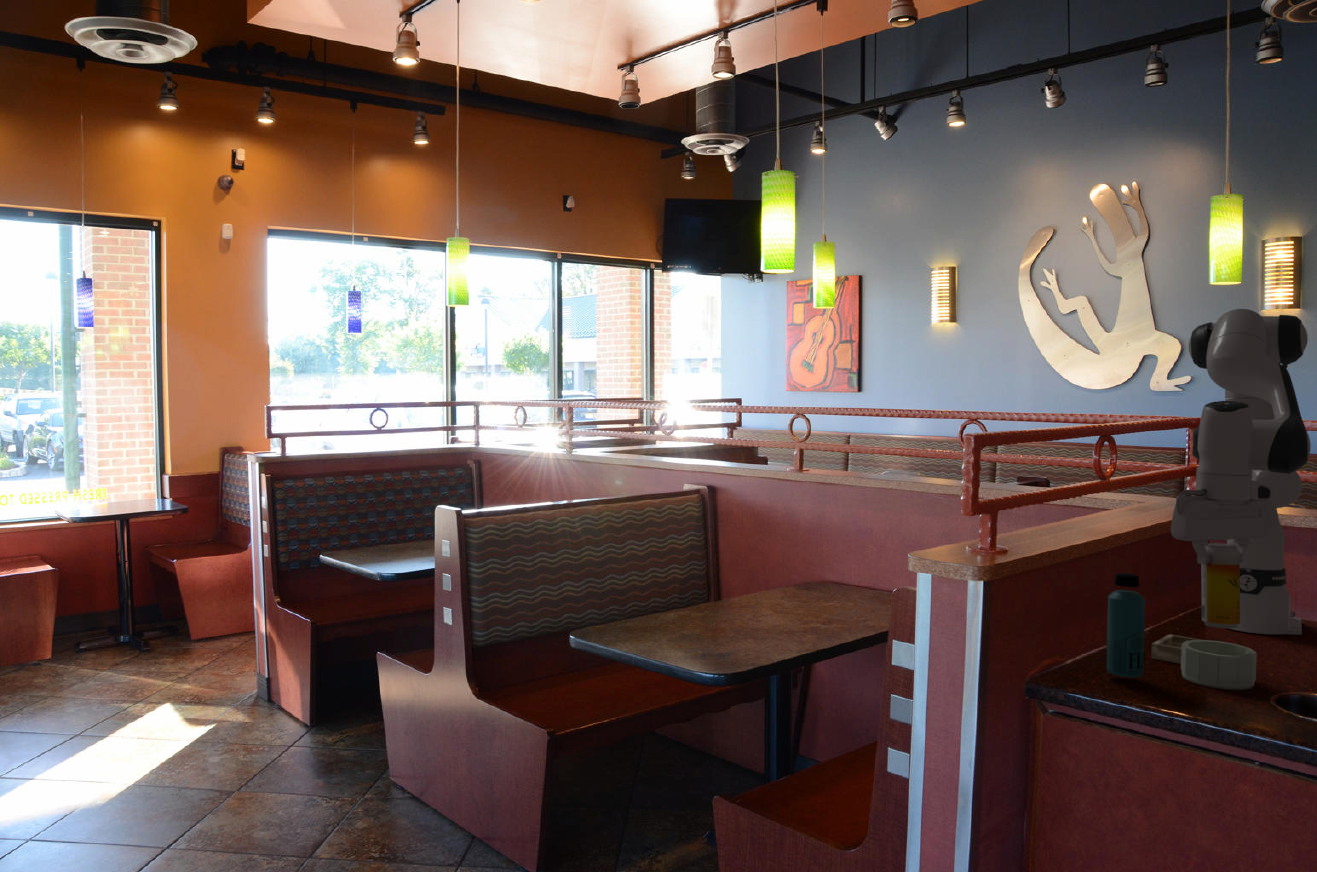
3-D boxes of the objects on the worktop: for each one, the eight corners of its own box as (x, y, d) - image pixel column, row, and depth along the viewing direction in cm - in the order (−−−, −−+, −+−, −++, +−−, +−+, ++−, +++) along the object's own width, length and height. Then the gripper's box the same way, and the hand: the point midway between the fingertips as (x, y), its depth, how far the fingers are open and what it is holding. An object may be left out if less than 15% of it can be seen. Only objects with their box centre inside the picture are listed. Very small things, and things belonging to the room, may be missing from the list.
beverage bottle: (1129, 687, 168) (1132, 578, 167) (1096, 677, 174) (1099, 572, 173) (1152, 682, 171) (1155, 575, 170) (1119, 673, 177) (1122, 569, 176)
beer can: (1246, 629, 169) (1245, 546, 169) (1211, 628, 170) (1210, 546, 170) (1230, 622, 175) (1229, 543, 175) (1196, 622, 176) (1195, 542, 176)
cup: (1192, 667, 181) (1193, 636, 181) (1261, 680, 173) (1262, 648, 173) (1173, 679, 173) (1174, 647, 173) (1244, 694, 165) (1246, 660, 165)
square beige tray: (1169, 648, 195) (1169, 631, 195) (1228, 658, 187) (1229, 641, 187) (1151, 658, 187) (1151, 640, 187) (1212, 670, 180) (1213, 651, 179)
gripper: (1191, 491, 166) (1188, 568, 167) (1281, 489, 171) (1278, 564, 172) (1163, 488, 172) (1161, 562, 173) (1251, 486, 178) (1248, 558, 178)
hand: (1220, 563), depth 172 cm, fingers closed on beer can, 6 cm apart
